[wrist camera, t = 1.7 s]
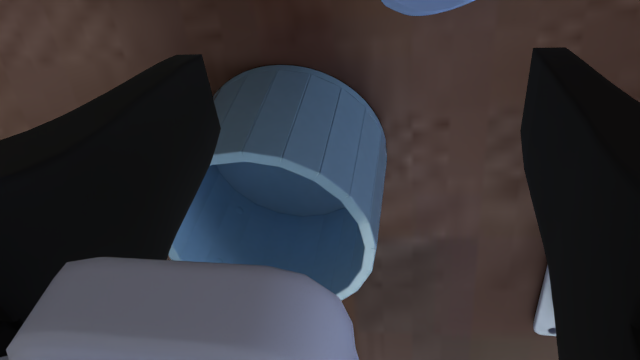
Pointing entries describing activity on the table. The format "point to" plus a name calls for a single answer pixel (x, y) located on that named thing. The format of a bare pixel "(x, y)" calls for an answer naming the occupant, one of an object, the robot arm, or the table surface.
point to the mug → (291, 179)
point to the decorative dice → (424, 6)
